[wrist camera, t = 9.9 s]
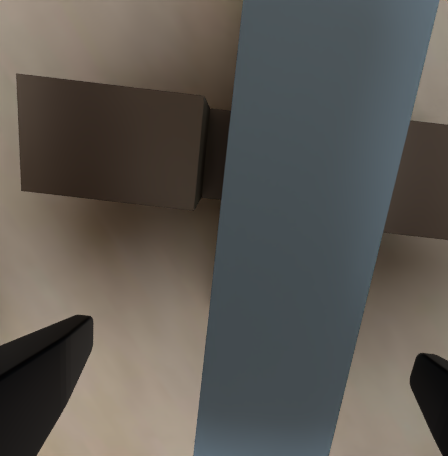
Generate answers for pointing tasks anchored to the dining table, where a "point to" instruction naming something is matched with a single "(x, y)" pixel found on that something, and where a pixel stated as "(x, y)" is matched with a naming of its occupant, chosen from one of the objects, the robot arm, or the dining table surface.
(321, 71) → the crosspiece
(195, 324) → the dining table surface
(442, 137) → the notched rail
